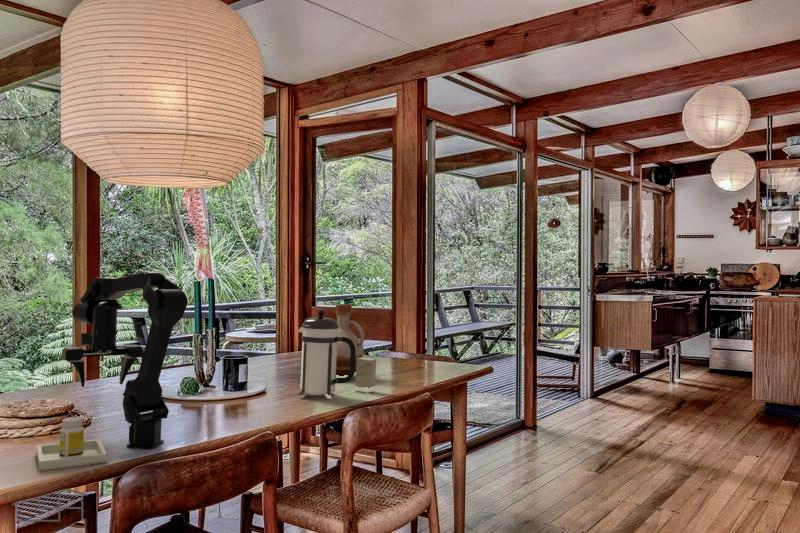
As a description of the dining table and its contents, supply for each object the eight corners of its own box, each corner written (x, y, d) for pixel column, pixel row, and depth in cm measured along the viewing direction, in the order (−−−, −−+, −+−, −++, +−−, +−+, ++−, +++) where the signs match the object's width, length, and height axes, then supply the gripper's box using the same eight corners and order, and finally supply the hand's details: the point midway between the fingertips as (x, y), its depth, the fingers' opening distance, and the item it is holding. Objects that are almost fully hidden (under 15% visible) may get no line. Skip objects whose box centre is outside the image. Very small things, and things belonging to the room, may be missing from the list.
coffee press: (312, 403, 210) (315, 312, 210) (287, 394, 223) (291, 308, 223) (355, 398, 221) (358, 311, 221) (329, 390, 234) (333, 308, 234)
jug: (374, 378, 262) (377, 305, 262) (348, 384, 247) (351, 306, 247) (336, 372, 273) (339, 302, 273) (309, 377, 257) (312, 303, 258)
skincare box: (354, 391, 233) (355, 358, 233) (360, 389, 237) (361, 357, 237) (369, 393, 230) (371, 360, 230) (375, 391, 234) (376, 358, 234)
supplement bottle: (86, 453, 146) (88, 416, 146) (76, 459, 141) (78, 421, 141) (65, 452, 146) (67, 416, 146) (54, 459, 141) (56, 421, 141)
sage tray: (98, 447, 152) (99, 439, 152) (106, 463, 141) (106, 454, 141) (36, 454, 145) (36, 445, 145) (39, 470, 134) (39, 461, 134)
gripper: (133, 322, 178) (131, 377, 178) (58, 323, 167) (56, 383, 167) (145, 326, 169) (142, 384, 169) (67, 327, 158) (64, 390, 158)
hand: (102, 385), depth 166 cm, fingers open, 9 cm apart
